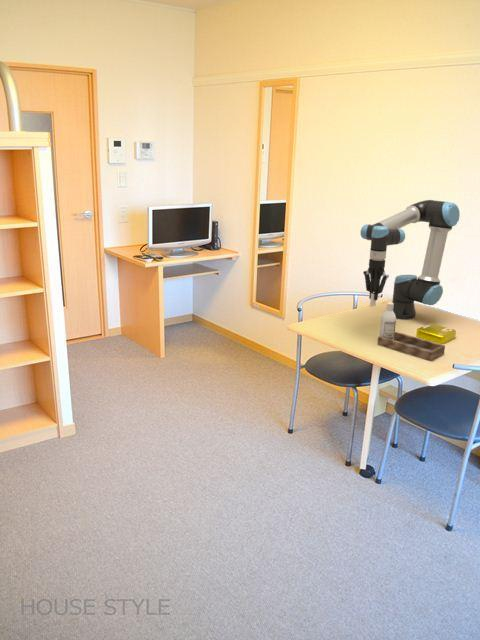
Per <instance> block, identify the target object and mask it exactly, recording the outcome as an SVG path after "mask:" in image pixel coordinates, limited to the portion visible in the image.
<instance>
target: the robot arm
mask: <svg viewBox="0 0 480 640" xmlns="http://www.w3.org/2000/svg"><path fill="white" fill-rule="evenodd" d="M459 220H460V208H459V206H458V205H457V204H456V203H454V202H451V201H442V200H433V199H428V200H427V199H426V200H421V201H418V202H416V203H413V204H410V205H409V206H407V207H406V208H405V210H402V211H400V212H398V213H395V214H394V215H391V216H389V217H387V218H385V219H382V220H380V221H378V222H376V223H374V224H366V223H365V224H364V225H362V227H361V229H360V237H361V238H362V239H363V240H367V241H370V250H369V259H368V268H367V269H366V270H364V271H363V275H364V280H365V288H366V289H365V290H366V292H369V298H368V299H369V301H370V303H369V307H372V308H373V307H376V303H377V300H379V299H378V298H379V294H382V293H383V290H384V288H385V285H386V282H387V280H388V278H389V277H390V275H389V274H386V272H385V266H386V259H387V248H388V246H395V245H397V246H398V245H399V244H402V243H403V242H405V240H406V233H405V231H404V230H403V229H402V228H404V227H406V226H407V225H410V224H416V223H419V222H420V223H421V222H424V223H428V228H429V229H430V232H429V238H428V241H427V246H426V251H425V256H424V260H423V265H422V270H421V274H420V275H419V276H417V275H416V274H400V275H397V276H396V277H394V278H395V279H394V282H393V283H394V284H393V292H392V293H393V294H392V301H391V303H394V306H393V312H394V313H395V316H396V319H397V320H398V319H400V320H411V319H415V318H416V317H417V315H416V313H417V311H416V307H415V302H417V303H421V304H423V305H428V306H434V305H435V304H437V303H438V302H439V301H440V300H441V298H442V296H443V293H444V289H443V286H442V285H441V279H440V278H439V275H440V269H441V265H442V261H443V256H444V252H445V247H446V243H447V238H448V234H449V232H450V231H451V230H453V227H455V226H457V224H458V223H459Z"/></svg>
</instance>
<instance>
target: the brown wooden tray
mask: <svg viewBox="0 0 480 640" xmlns="http://www.w3.org/2000/svg"><path fill="white" fill-rule="evenodd" d="M377 346H380V347H384V348H387V349H391V350H394V351H396V352H400V353H403V354H405V355H410V356H413V357H416V358H420V359H423V360H426V361H429V362H432V361H434V360H436V359H438V358H439V357H441V356H442V355H444V354H445V349H446V345H445V344H439V343H435V342H432V341H428V340H425V339H421V338H418V337H416V336H412V335H408V334H405V333H401V332H399V331H395V335H394V340H391V339H388V338H384V337H381V336H380V335H379V336H378V337H377Z"/></svg>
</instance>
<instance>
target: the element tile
mask: <svg viewBox="0 0 480 640" xmlns="http://www.w3.org/2000/svg"><path fill="white" fill-rule="evenodd" d="M456 333H457V330H456V329H454V328H450V327H446V326H442V325H439V324H435V323H430V322H429V323H427V324H425V325H423V326H421V327H418V328H417V329H416V334H415V337H416V338H420V339H423V340H427V341H430V342H434V343H438V344H441V345H445V344H447V343H449V342H450V341H453V340H455V339H456Z"/></svg>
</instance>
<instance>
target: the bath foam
mask: <svg viewBox="0 0 480 640" xmlns="http://www.w3.org/2000/svg"><path fill="white" fill-rule="evenodd" d="M393 306H394V303H392V301H391V302H390V301H389V302H388V301H387V304H386V310H385V311H384V313H383V314H382V316H381V319H380V320H381V321H380V329H379V336H381V337H384V338H388V339H391V340H394V335H395V332H396V327H397V326H396V325H397V324H396V323H397V318H396V316H395V313H394V312H393ZM394 341H395V340H394Z"/></svg>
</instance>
